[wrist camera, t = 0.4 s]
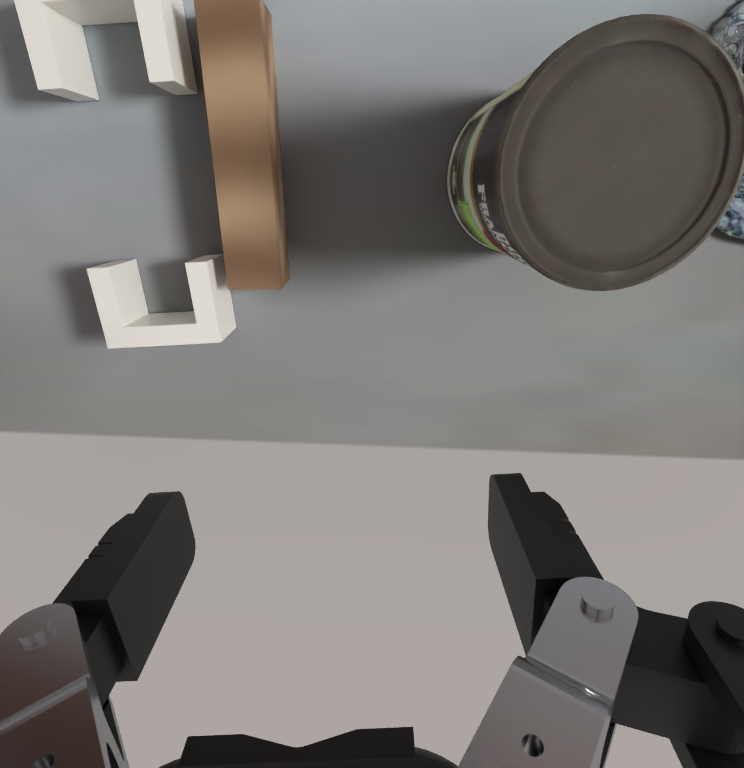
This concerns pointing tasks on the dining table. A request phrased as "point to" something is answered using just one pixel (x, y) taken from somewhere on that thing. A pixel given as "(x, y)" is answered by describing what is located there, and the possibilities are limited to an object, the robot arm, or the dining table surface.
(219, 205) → the slat
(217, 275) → the end caps
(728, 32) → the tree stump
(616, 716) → the robot arm
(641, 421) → the dining table surface
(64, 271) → the dining table surface
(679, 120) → the coffee can
